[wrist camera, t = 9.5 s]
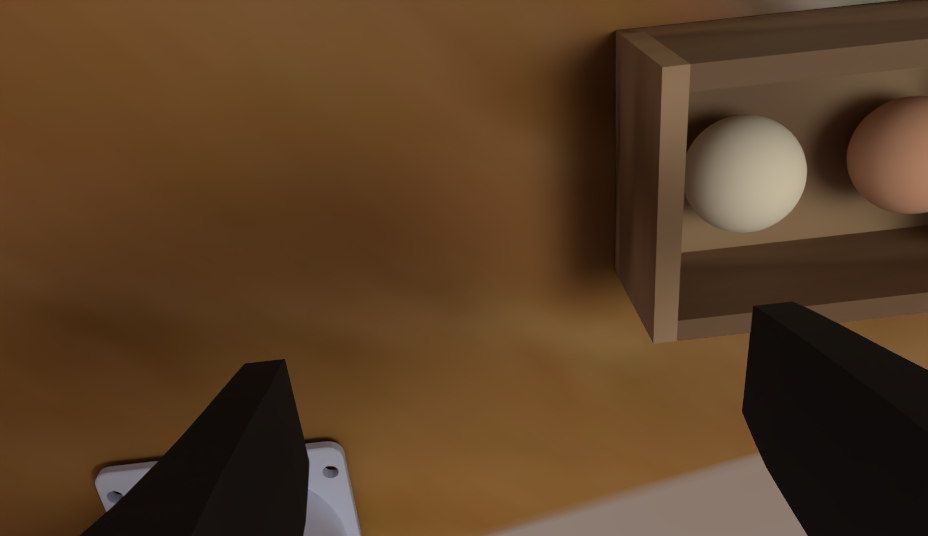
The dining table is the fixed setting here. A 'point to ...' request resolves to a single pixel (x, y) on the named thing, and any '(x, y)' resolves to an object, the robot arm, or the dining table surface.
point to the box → (825, 148)
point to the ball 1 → (744, 173)
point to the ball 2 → (892, 156)
